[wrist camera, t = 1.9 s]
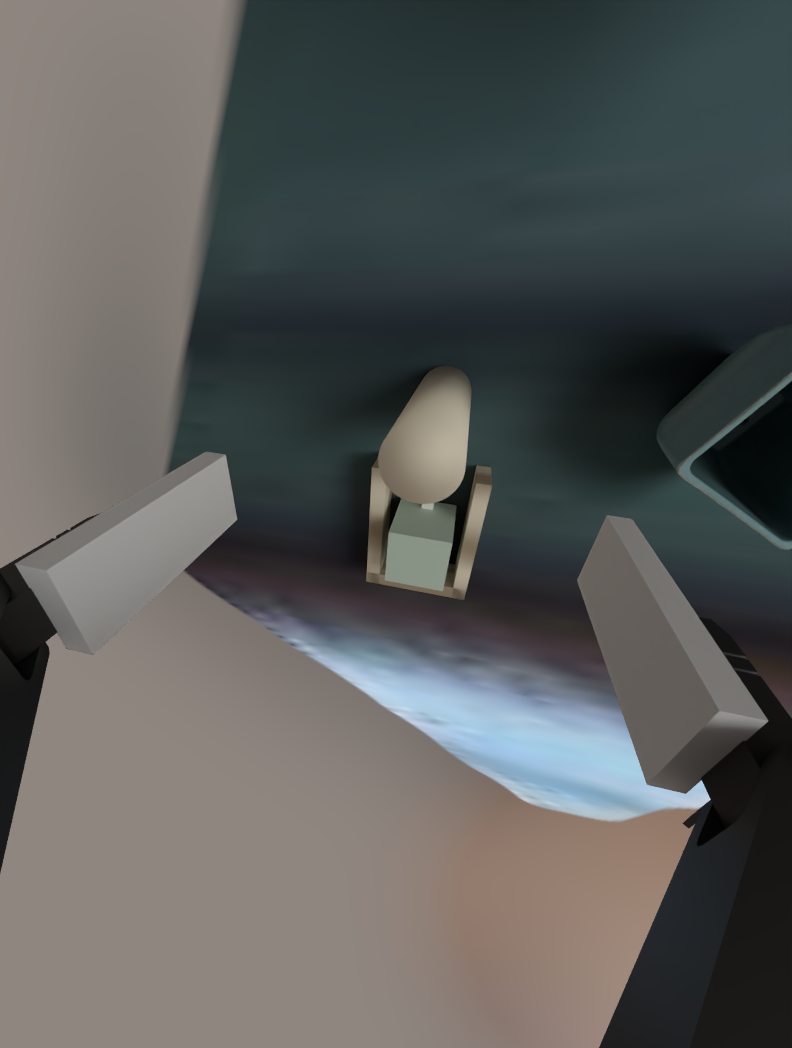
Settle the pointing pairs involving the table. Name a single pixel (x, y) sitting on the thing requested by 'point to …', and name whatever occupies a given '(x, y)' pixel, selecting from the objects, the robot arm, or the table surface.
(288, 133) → the table surface
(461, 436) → the beige teardrop-shaped paddle
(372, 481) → the beige u-shaped frame
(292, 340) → the table surface
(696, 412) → the flower pot
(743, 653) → the robot arm
